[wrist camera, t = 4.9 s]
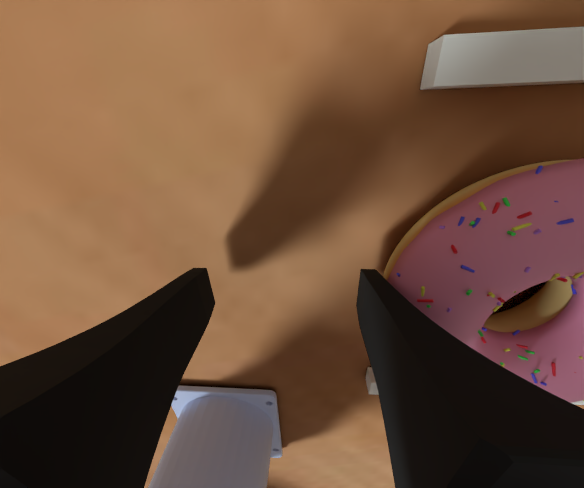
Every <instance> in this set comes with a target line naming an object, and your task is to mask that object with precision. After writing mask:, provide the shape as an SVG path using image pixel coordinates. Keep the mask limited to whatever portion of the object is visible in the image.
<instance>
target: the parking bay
mask: <svg viewBox="0 0 584 488" xmlns="http://www.w3.org/2000/svg"><path fill="white" fill-rule="evenodd" d="M567 83H584V27H568V28H551V29H534V30H517V31H500V32H483V33H466V34H449V35H443V36H441V37H440V38H438V39H437V40H435V41H433V42H432V43H430V44H428V49H427V54H426V60H425V65H424V70H423V76H422V81H421V86H420V90H428V89H451V88H474V87H498V86H521V85H544V84H567ZM365 379H366V384H367V388H368V393H369V394H373V395H379V393H378V389H377V385H376V381H375V377H374V374H373V370H372V367H368V368H367V373H366V378H365ZM572 404H576V405H584V401H583V400H582V401H577V402H572Z"/></svg>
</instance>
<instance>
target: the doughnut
mask: <svg viewBox="0 0 584 488" xmlns="http://www.w3.org/2000/svg"><path fill="white" fill-rule="evenodd" d="M383 277H384V278H385V279H386V280H387V281H388V282H389V283H390V284H391V285H392V286H393V287H394V288H395V289H396V290H397V291H398V292H399V293H400V294H401V295H403V296H404V297H405V298H406V299H407V300H408V301H409V302H410V303H412V304H413V305H414V306H415V307H416V308H417V309H419V310H420V311H421V312H422V313H424V314H425V315H426V316H427V317H428V318H430V319H431V320H432V321H434V322H435V323H436V324H438V325H439V326H440V327H442V328H443V329H444V330H446V331H447V332H449V333H450V334H451V335H453V336H454V337H456V338H457V339H459V340H460V341H462V342H463V343H465V344H466V345H468V346H469V347H471V348H472V349H474V350H476V351H477V352H479V353H480V354H482V355H484V356H485V357H487V358H488V359H490V360H492V361H493V362H495V363H497V364H499V365H500V366H502V367H504V368H505V369H507V370H509V371H511V372H512V373H514V374H516V375H518V376H520V377H522V378H523V379H525V380H527V381H529V382H531V383H533V384H534V385H536V386H538V387H540V388H542V389H544V390H546V391H548V392H550V393H552V394H554V395H556V396H558V397H560V398H562V399H564V400H566V401H568V402H570V403H572V402H577V401H582V400H583V401H584V158H581V159H576V160H556V161H547V162H540V163H535V164H530V165H525V166H521V167H517V168H513V169H510V170H507V171H503V172H500V173H498V174H495V175H492V176H489V177H487V178H485V179H482V180H480V181H478V182H475V183H473V184H471V185H469V186H467V187H465V188H463V189H462V190H460V191H458V192H456V193H455V194H453V195H451V196H450V197H448V198H446V199H445V200H443V201H442V202H441V203H439V204H438V205H436V206H435V207H434V208H432V209H431V210H430V211H429V212H427V213H426V214H425V215H424V216H423V217H422V218H421V219H420V220H419V221H417V222H416V223H415V224H414V225H413V227H412V228H411V229H410V230H409V231H408V232H407V233H406V234H405V236H404V237H403V238H402V240H401V241H400V242H399V244H398V245H397V247H396V248H395V250H394V251H393V253H392V255H391V257H390V259H389V261H388V263H387V265H386V268H385V271H384V274H383ZM546 281H547V282H546ZM543 282H546V284H545V285H544V286H543V287H542V288H541V289H540V290H539V291H538V292H537V293H536V294H535V295H533V296H532V297H531V298H529V299H528V300H526V301H525V302H523V303H521V304H519V305H517V306H515V307H513V308H511V309H508V310H505V311H502V312H499V313H495V314H492V313H493V312H496V311H497V310H498V309H499V308H500V307H502V306H503V305H502V304H503V303H504V302H505V301H507V300H508V299H510V298H511V297H513V296H515V295H516V294H518V293H520V292H522V291H524V290H526V289H528V288H530V287H532V286H534V285H537V284H540V283H543Z"/></svg>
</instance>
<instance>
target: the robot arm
mask: <svg viewBox="0 0 584 488" xmlns="http://www.w3.org/2000/svg"><path fill="white" fill-rule="evenodd" d="M214 305H215V300H214V296H213V292H212V288H211V284H210V280H209V276H208V272H207V268H193V269H191V270H189V271H187V272H186V273H184V274H183V275H181V276H179V277H178V278H176V279H175V280H173V281H172V282H170V283H169V284H167V285H166V286H164V287H163V288H161V289H159V290H158V291H156V292H155V293H153V294H152V295H150V296H148V297H147V298H145V299H143V300H142V301H140V302H138V303H137V304H135V305H134V306H132V307H130V308H129V309H127V310H125V311H123V312H122V313H120V314H118V315H116V316H114V317H112V318H111V319H109V320H107V321H105V322H103V323H101V324H99V325H97V326H95V327H93V328H91V329H89V330H87V331H85V332H82V333H80V334H78V335H76V336H74V337H71V338H69V339H67V340H65V341H63V342H60V343H58V344H56V345H54V346H51V347H49V348H46V349H44V350H41V351H39V352H37V353H34V354H32V355H29V356H26V357H24V358H21V359H19V360H16V361H14V362H11V363H8V364H6V365H3V366H0V488H144V486H145V482H146V479H147V475H148V472H149V469H150V466H151V463H152V459H153V456H154V453H155V450H156V447H157V444H158V441H159V438H160V435H161V432H162V429H163V426H164V424H165V421H166V418H167V415H168V412H169V410H170V407H171V406H172V408H173V410H174V412H175V414H176V416H177V418H178V420H177V423H176V425H175V427H174V430H173V432H172V434H171V436H170V439H169V441H168V443H167V446H166V448H165V450H164V452H163V455H162V457H161V459H160V462H159V464H158V466H157V469H156V471H155V473H154V475H153V478H152V480H151V482H150V485H149V487H148V488H267V482H268V473H269V465H270V457H272V458H280V457H281V456H282V442H281V432H280V423H279V414H278V405H277V396H276V393H275V392H274V391H272V390H262V389H242V388H221V387H201V386H181V385H179V383H180V381H181V379H182V376H183V374H184V372H185V370H186V368H187V366H188V364H189V362H190V360H191V358H192V356H193V354H194V352H195V350H196V348H197V346H198V344H199V342H200V340H201V338H202V336H203V333H204V331H205V329H206V327H207V325H208V323H209V320H210V317H211V315H212V311H213V308H214ZM356 306H357V313H358V319H359V325H360V329H361V333H362V336H363V340H364V343H365V347H366V350H367V353H368V357H369V360H370V364H371V367H372V370H373V374H374V377H375V381H376V385H377V389H378V393H379V399H380V404H381V409H382V414H383V419H384V425H385V430H386V436H387V441H388V447H389V452H390V458H391V464H392V470H393V476H394V482H395V488H584V409H582V408H580V407H578V406H576V405H574V404H572V403H570V402H568V401H566V400H564V399H562V398H560V397H558V396H556V395H554V394H552V393H550V392H548V391H546V390H544V389H542V388H540V387H538V386H536V385H534V384H533V383H531V382H529V381H527V380H525V379H523V378H522V377H520V376H518V375H516V374H514V373H512V372H511V371H509V370H507V369H505V368H504V367H502V366H500V365H499V364H497V363H495V362H493V361H492V360H490V359H488V358H487V357H485V356H484V355H482V354H480V353H479V352H477V351H476V350H474V349H472V348H471V347H469V346H468V345H466V344H465V343H463V342H462V341H460V340H459V339H457V338H456V337H454V336H453V335H451V334H450V333H449V332H447V331H446V330H444V329H443V328H442V327H440V326H439V325H438V324H436V323H435V322H434V321H432V320H431V319H430V318H428V317H427V316H426V315H425V314H424V313H422V312H421V311H420V310H419V309H417V308H416V307H415V306H414V305H413V304H412V303H410V302H409V301H408V300H407V299H406V298H405V297H404V296H403V295H401V294H400V293H399V292H398V291H397V290H396V289H395V288H394V287H393V286H392V285H391V284H390V283H389V282H388V281H387V280H386V279H385V278H384V277H383V276H382V275H381V274H380V273H379V272H378V271H377V270H375V269H361V272H360V280H359V288H358V296H357V305H356Z"/></svg>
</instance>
